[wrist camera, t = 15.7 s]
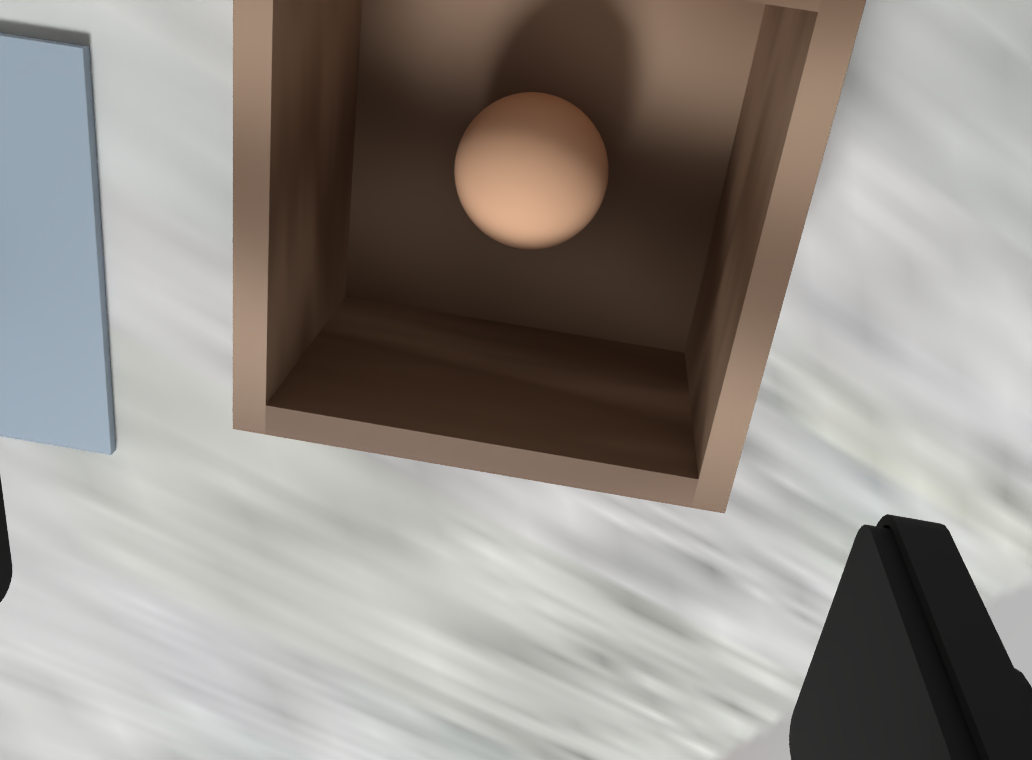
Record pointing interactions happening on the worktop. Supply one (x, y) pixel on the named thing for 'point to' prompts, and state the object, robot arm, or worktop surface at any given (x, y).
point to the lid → (51, 251)
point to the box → (520, 272)
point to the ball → (531, 170)
